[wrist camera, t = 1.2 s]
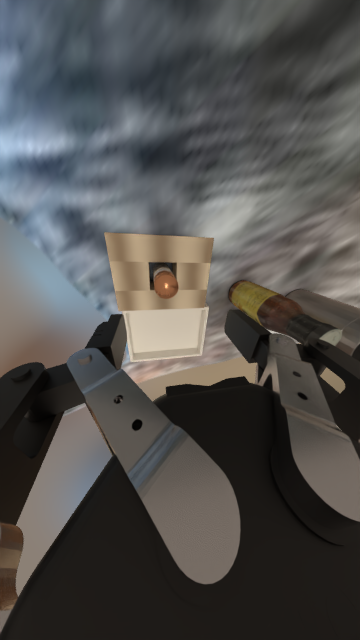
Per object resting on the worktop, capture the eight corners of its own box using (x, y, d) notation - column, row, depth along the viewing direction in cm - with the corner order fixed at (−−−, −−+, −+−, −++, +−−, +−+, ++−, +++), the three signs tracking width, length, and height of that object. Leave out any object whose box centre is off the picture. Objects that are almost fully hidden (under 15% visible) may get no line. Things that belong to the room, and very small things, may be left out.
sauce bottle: (224, 303, 36) (291, 362, 19) (232, 278, 33) (319, 321, 16) (247, 304, 37) (329, 361, 20) (256, 280, 34) (361, 322, 17)
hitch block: (202, 238, 28) (213, 238, 23) (196, 297, 34) (204, 307, 28) (113, 233, 25) (104, 232, 20) (124, 298, 31) (118, 311, 26)
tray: (203, 301, 34) (209, 307, 31) (197, 346, 41) (201, 355, 38) (124, 303, 31) (121, 310, 28) (132, 352, 38) (130, 362, 35)
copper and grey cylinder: (168, 261, 29) (179, 275, 19) (168, 278, 30) (178, 298, 20) (152, 261, 28) (153, 274, 18) (153, 278, 30) (154, 299, 20)
